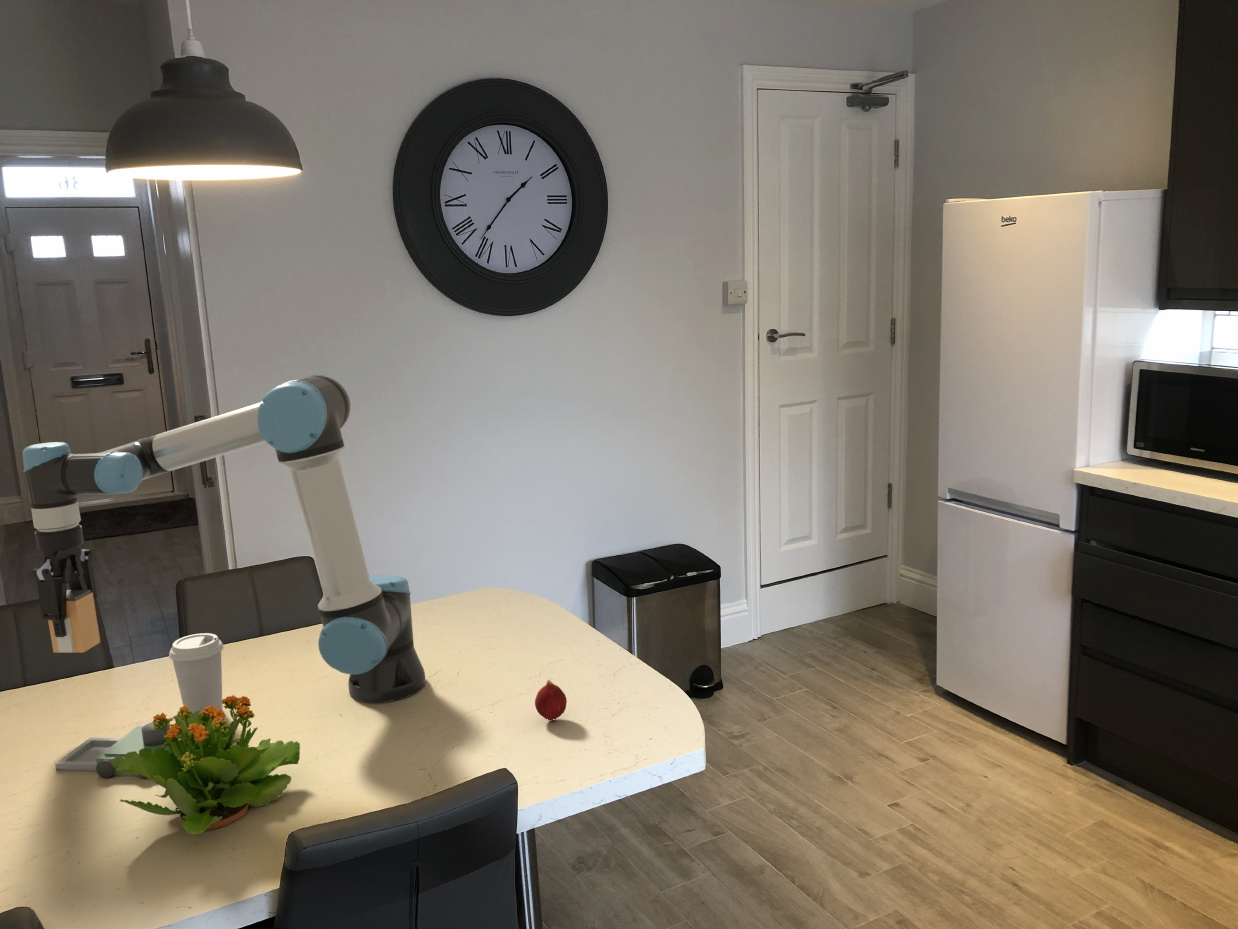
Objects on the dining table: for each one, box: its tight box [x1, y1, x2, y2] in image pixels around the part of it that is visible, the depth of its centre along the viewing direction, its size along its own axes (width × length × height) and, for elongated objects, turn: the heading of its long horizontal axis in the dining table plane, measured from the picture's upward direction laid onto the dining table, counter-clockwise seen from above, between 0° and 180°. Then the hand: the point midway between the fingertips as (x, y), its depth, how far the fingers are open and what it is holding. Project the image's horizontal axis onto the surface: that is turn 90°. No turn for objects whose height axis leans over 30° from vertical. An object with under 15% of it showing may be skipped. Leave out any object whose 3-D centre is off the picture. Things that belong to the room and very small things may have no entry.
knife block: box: [47, 589, 101, 654], centre depth 179 cm, size 6×5×11 cm
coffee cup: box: [168, 632, 224, 714], centre depth 182 cm, size 10×10×15 cm
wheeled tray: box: [55, 720, 181, 780], centre depth 167 cm, size 20×14×6 cm
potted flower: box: [111, 695, 301, 835], centre depth 146 cm, size 25×24×18 cm
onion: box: [534, 679, 568, 721], centre depth 175 cm, size 6×6×8 cm
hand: (76, 645), depth 180 cm, fingers closed on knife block, 5 cm apart
